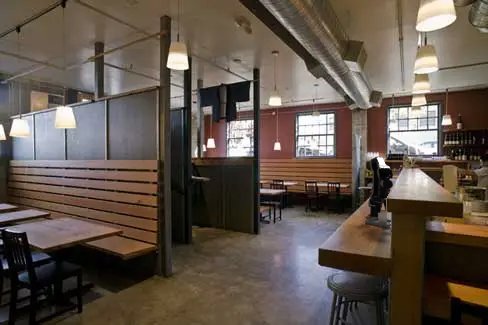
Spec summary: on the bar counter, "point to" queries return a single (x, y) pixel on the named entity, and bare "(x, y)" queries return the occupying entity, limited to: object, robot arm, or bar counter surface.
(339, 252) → the bar counter surface
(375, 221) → the tray
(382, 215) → the ceramic cup
